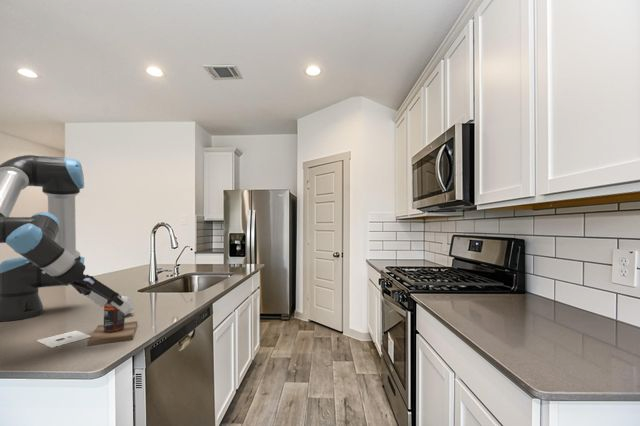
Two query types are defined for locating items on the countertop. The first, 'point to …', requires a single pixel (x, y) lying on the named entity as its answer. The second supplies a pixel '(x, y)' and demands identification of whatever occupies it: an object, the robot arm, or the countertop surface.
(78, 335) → the white tile
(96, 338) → the walnut board
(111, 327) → the supplement bottle
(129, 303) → the die
